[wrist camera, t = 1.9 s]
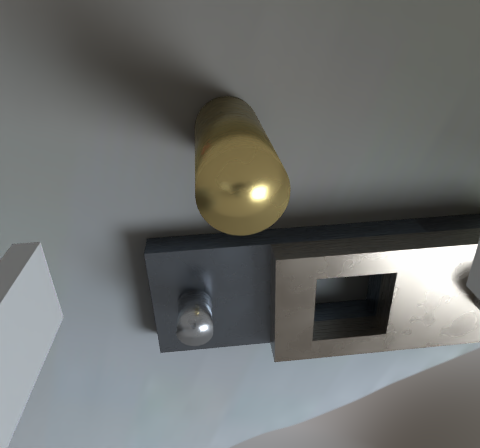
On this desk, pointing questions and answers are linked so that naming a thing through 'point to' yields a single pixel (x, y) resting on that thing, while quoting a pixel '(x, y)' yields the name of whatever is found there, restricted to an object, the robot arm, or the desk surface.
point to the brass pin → (237, 169)
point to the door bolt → (304, 288)
